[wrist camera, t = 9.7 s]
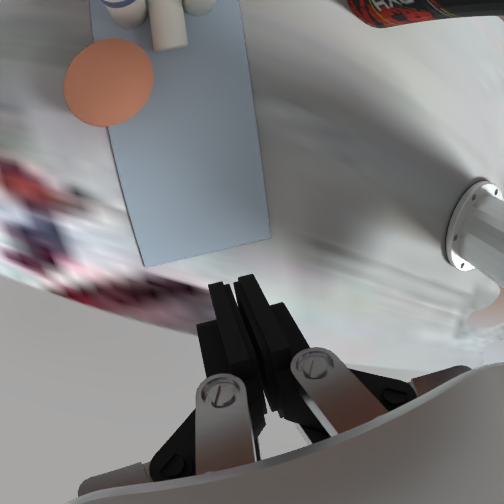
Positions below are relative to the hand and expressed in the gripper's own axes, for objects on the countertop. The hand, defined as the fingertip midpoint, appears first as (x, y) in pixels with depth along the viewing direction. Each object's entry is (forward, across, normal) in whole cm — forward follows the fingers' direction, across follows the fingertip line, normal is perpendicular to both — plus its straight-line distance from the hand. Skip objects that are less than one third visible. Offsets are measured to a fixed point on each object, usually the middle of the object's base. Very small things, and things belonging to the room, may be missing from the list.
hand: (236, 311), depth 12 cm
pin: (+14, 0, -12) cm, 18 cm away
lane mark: (+15, 0, -8) cm, 17 cm away
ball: (+12, +4, -10) cm, 16 cm away
